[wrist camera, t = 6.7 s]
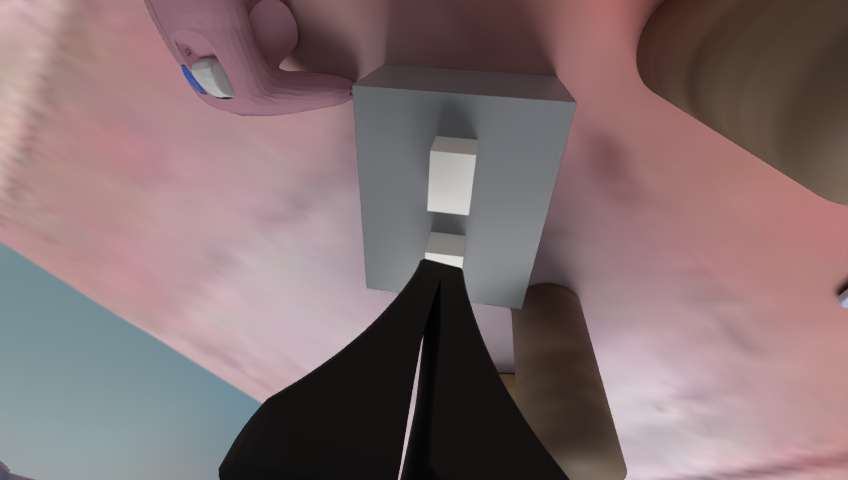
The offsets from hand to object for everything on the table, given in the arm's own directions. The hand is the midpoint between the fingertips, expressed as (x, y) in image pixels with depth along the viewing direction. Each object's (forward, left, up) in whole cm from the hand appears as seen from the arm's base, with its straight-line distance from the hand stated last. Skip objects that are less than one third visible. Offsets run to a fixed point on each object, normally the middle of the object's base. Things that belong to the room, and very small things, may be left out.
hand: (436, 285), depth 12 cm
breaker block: (0, 0, -10) cm, 10 cm away
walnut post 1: (-8, +8, -9) cm, 15 cm away
